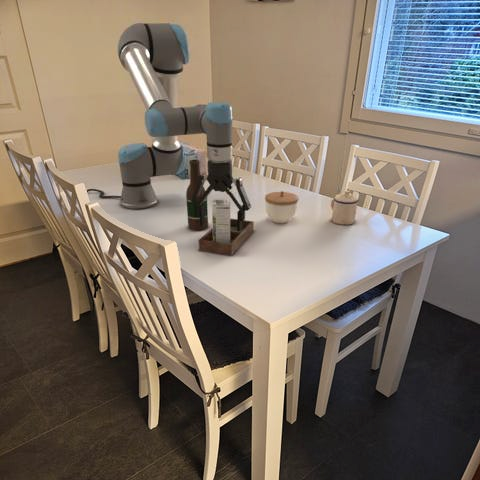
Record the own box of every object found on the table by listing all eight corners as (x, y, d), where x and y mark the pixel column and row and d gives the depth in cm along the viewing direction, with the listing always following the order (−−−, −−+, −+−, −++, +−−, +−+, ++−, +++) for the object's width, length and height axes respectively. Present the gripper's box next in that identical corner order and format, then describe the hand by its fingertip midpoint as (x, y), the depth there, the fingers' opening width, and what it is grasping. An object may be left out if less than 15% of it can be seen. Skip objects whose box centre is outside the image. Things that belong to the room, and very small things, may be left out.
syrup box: (212, 241, 144) (211, 199, 136) (230, 240, 144) (229, 199, 136) (213, 248, 139) (211, 205, 131) (231, 247, 139) (230, 204, 131)
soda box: (154, 162, 239) (151, 138, 232) (177, 159, 245) (175, 135, 238) (182, 179, 210) (180, 152, 202) (207, 175, 215) (206, 149, 208)
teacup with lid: (360, 222, 161) (365, 192, 154) (342, 227, 157) (346, 196, 150) (338, 213, 169) (342, 184, 163) (321, 217, 166) (324, 187, 159)
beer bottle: (205, 231, 153) (202, 163, 140) (185, 230, 154) (180, 162, 141) (210, 224, 159) (208, 158, 146) (191, 222, 161) (187, 157, 147)
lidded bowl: (275, 228, 156) (276, 198, 150) (258, 217, 165) (259, 189, 159) (303, 222, 161) (305, 193, 155) (285, 212, 170) (287, 184, 164)
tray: (199, 250, 139) (198, 240, 137) (224, 227, 157) (223, 217, 155) (231, 255, 136) (231, 245, 134) (253, 231, 153) (253, 221, 151)
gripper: (177, 159, 127) (182, 225, 139) (254, 167, 120) (252, 236, 132) (188, 153, 133) (192, 218, 145) (262, 160, 126) (259, 228, 138)
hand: (221, 227), depth 139 cm, fingers open, 12 cm apart
